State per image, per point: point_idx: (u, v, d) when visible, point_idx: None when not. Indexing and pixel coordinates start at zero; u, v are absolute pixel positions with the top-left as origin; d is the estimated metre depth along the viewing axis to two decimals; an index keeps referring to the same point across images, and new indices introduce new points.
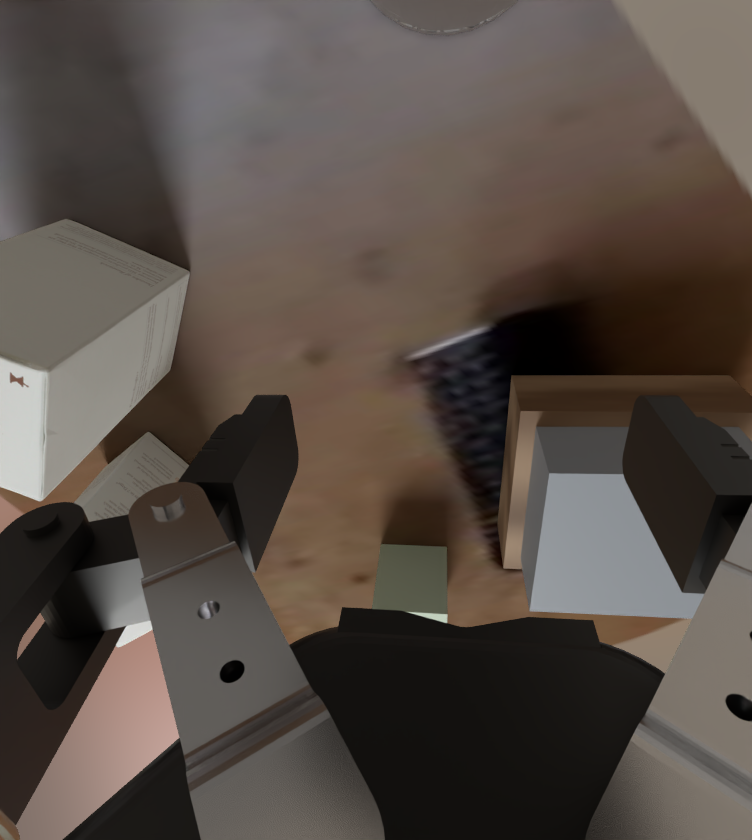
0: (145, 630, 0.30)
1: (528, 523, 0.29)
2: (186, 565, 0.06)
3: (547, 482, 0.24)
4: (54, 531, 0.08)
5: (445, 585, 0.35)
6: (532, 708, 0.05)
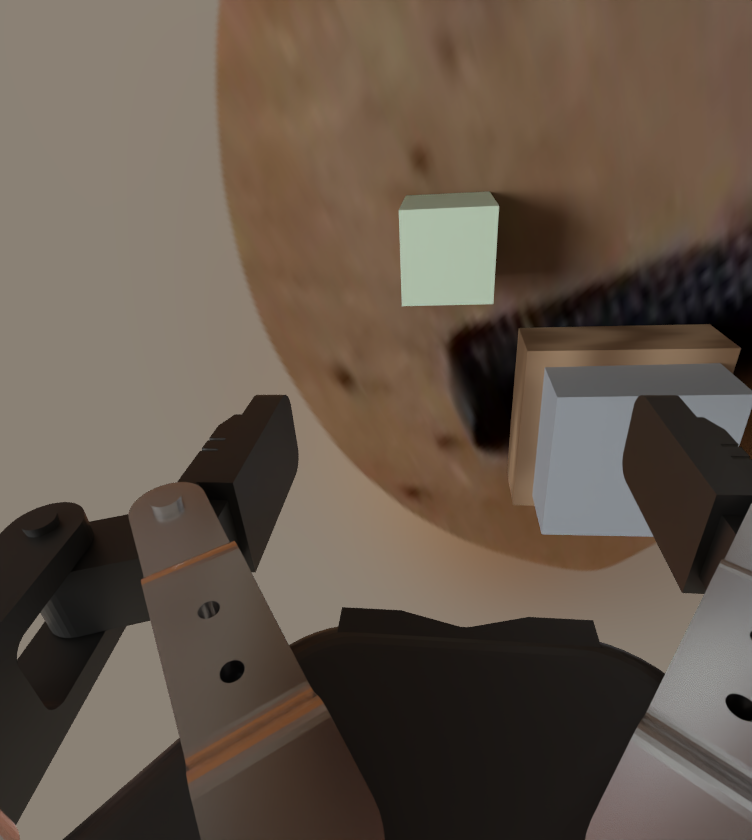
0: None
1: (617, 372, 0.30)
2: (186, 565, 0.06)
3: (741, 393, 0.27)
4: (54, 531, 0.08)
5: None
6: (532, 708, 0.05)
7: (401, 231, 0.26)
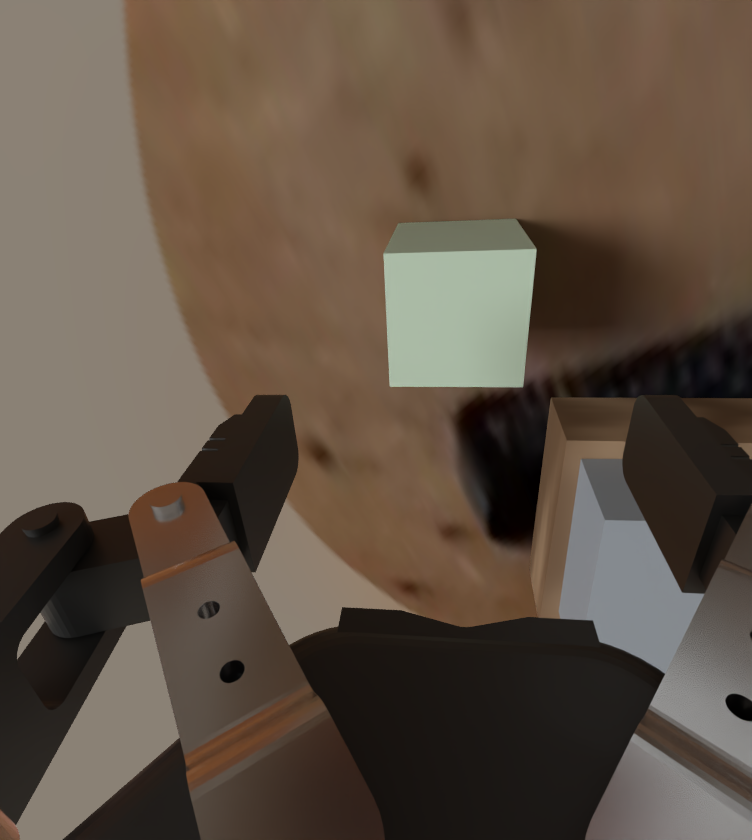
0: None
1: None
2: (186, 565, 0.06)
3: None
4: (54, 531, 0.08)
5: None
6: (532, 708, 0.05)
7: (387, 284, 0.18)
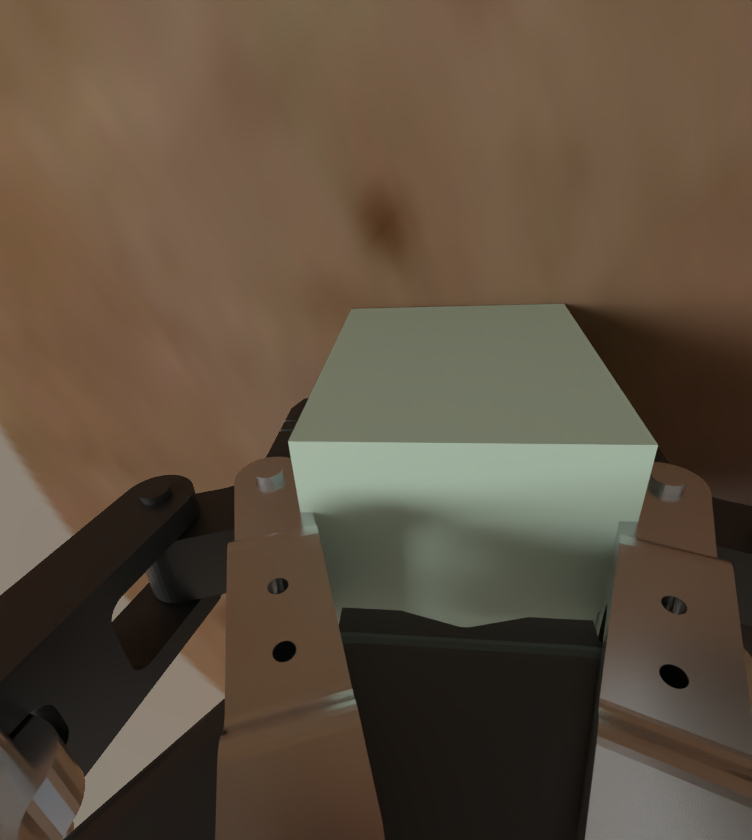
0: None
1: None
2: (268, 538, 0.07)
3: None
4: (169, 500, 0.08)
5: None
6: (532, 708, 0.05)
7: (304, 498, 0.08)
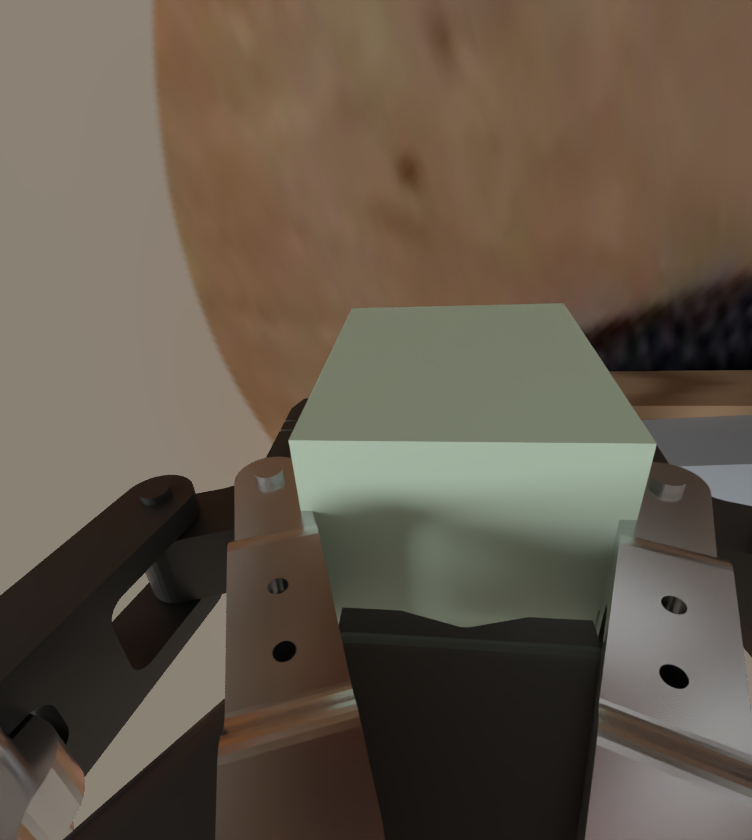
0: None
1: None
2: (268, 538, 0.07)
3: None
4: (169, 500, 0.08)
5: None
6: (532, 708, 0.05)
7: (304, 497, 0.08)
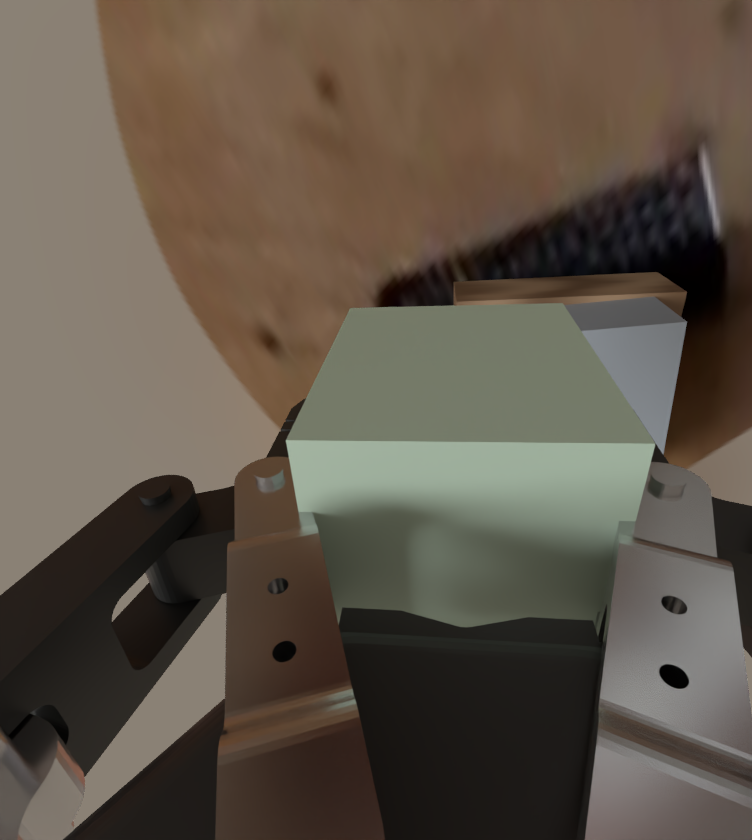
0: None
1: None
2: (269, 538, 0.07)
3: (671, 322, 0.24)
4: (169, 500, 0.08)
5: None
6: (532, 708, 0.05)
7: (302, 497, 0.08)
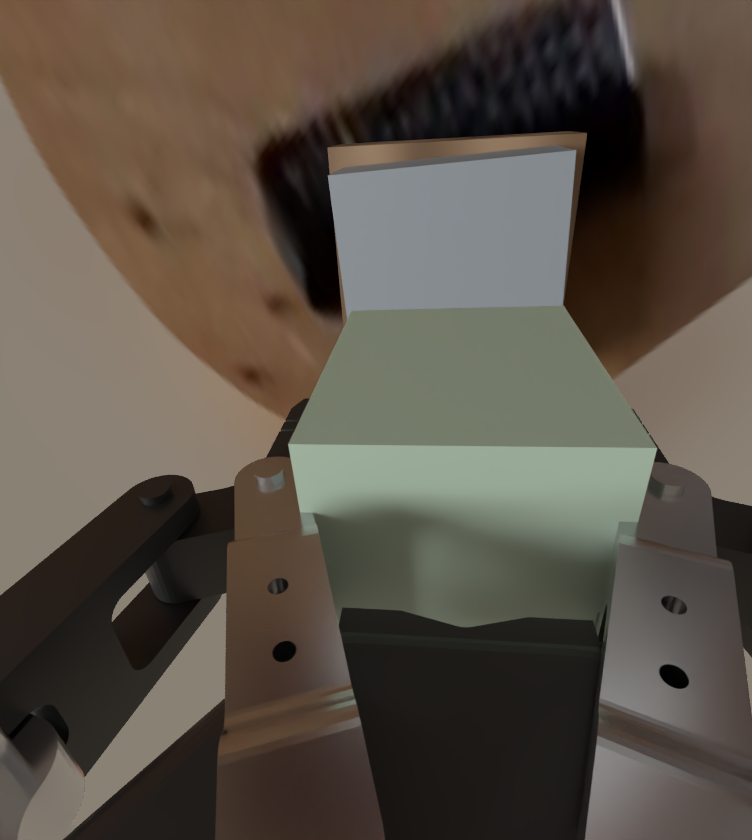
0: None
1: (423, 160, 0.23)
2: (269, 538, 0.07)
3: (558, 151, 0.20)
4: (169, 500, 0.08)
5: None
6: (532, 708, 0.05)
7: (304, 500, 0.08)
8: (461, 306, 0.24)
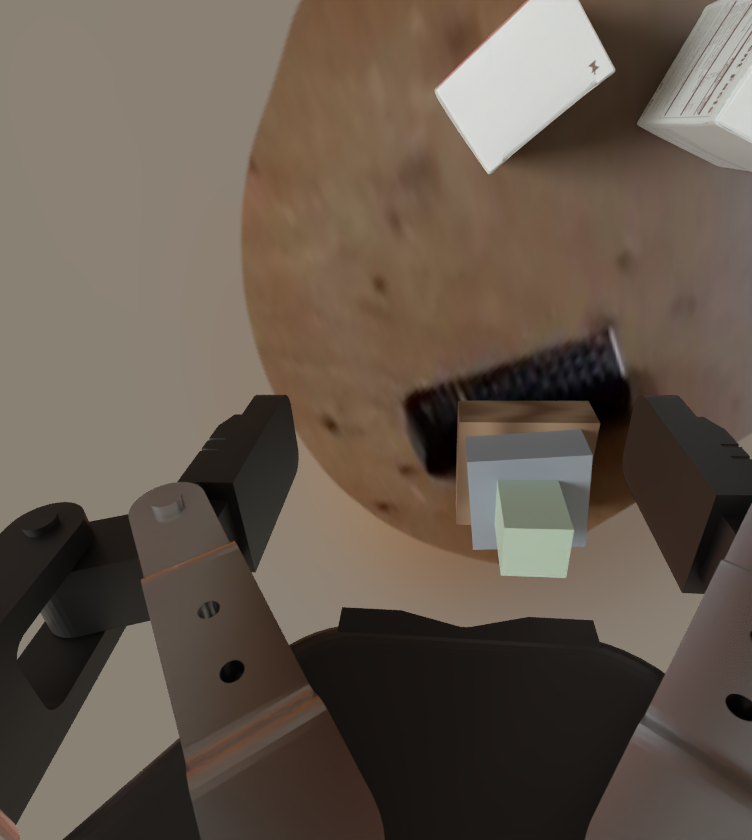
0: (471, 138, 0.29)
1: (511, 439, 0.45)
2: (186, 565, 0.06)
3: (583, 454, 0.41)
4: (54, 531, 0.08)
5: None
6: (532, 708, 0.05)
7: (505, 538, 0.39)
8: None
